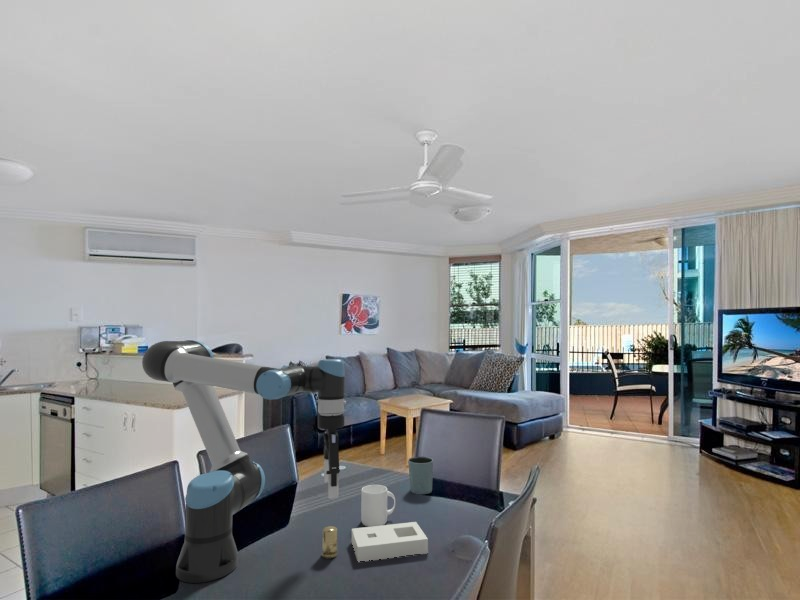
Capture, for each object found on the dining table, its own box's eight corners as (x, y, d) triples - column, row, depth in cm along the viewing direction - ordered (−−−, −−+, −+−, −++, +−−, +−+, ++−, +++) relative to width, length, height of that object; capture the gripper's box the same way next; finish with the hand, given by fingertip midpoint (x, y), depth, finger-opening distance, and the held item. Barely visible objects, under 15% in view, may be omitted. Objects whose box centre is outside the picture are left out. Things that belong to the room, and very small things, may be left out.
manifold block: (357, 562, 121) (357, 547, 121) (351, 542, 132) (351, 528, 132) (428, 553, 125) (427, 538, 126) (416, 535, 137) (416, 521, 137)
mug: (400, 523, 146) (400, 489, 147) (366, 529, 141) (366, 494, 142) (390, 513, 154) (390, 481, 155) (357, 519, 149) (357, 486, 150)
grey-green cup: (434, 495, 172) (433, 463, 173) (408, 494, 172) (408, 463, 173) (432, 486, 182) (432, 456, 183) (407, 486, 182) (407, 456, 183)
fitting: (322, 559, 122) (323, 533, 123) (321, 552, 126) (321, 527, 127) (338, 557, 123) (338, 531, 124) (336, 550, 127) (336, 525, 128)
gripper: (350, 420, 117) (350, 503, 115) (339, 406, 141) (339, 475, 139) (321, 422, 115) (320, 506, 113) (315, 407, 139) (314, 477, 137)
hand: (330, 489), depth 126 cm, fingers open, 13 cm apart
